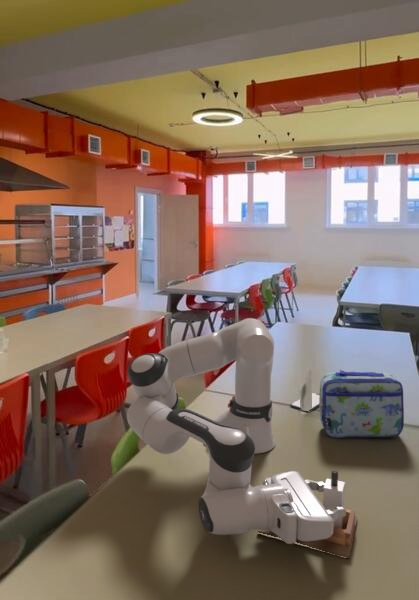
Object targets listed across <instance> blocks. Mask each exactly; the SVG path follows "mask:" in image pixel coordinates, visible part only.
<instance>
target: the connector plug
mask: <svg viewBox="0 0 419 600" xmlns="http://www.w3.org/2000/svg"><path fill="white" fill-rule="evenodd" d="M330 476H331V477H330V478H326V480H325V482H324V483H325V485H324V491H323V493H322V494H323V496H322V504H323V506H324V508H325V509H326V510H331V511H333V510H334V509H335V506H340V505H342V506H343V507H344V508H345V486H346V482H345V481H342V480H339V472H338V470H331V475H330ZM334 527H337V528H341V529H342V528H343V517H338V518H337V519H336V520H335V521H334Z"/></svg>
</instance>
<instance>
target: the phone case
mask: <svg viewBox="0 0 419 600" xmlns="http://www.w3.org/2000/svg"><path fill="white" fill-rule="evenodd" d="M311 393H312V408H311V409H309V411H311V410H312V411H311V412H314V411H315V410H317V409H319V396H320V393H319V394H318V393H315V392H311ZM289 407H290V408H293V409H295V410H299V409H301V407H300V398H298V399H297V400H295V401H293V402H292V403H290V406H289ZM299 411H300V410H299Z"/></svg>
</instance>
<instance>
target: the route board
mask: <svg viewBox="0 0 419 600" xmlns="http://www.w3.org/2000/svg"><path fill="white" fill-rule="evenodd" d="M321 504H322V505H323V502H321ZM345 510H346V515H345V516H344V517H343V528H342V529H341V528H337V527H334V529H333V534H332V536H331V537H329V538H327V539H322V540H315V541H301V540H298V539H297V538H296V542H297V543H300V544H303V545H307V546H309V547H312V548H316V549H319V550H322V551H325V552H329V553H332V554H335V555H339V556H343V557H346V558H349V559H350V557H351V556H350V555H351V552H350V551H352V546H353V543H354V538H353V537H354V536H355V533H356V532H355V531H356V527H357V522H358V516H357V515H356V511H355V510H351V509H347V508H345ZM256 530H257V532H259V533H263V534H267V535H271V536H274V537H279V536H278V535H277V534H275V533H274V532H272V531H271V529H268V530H260V529H256ZM354 532H355V533H354ZM279 538H280V537H279ZM352 542H353V543H352ZM349 556H350V557H349Z"/></svg>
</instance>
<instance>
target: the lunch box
mask: <svg viewBox="0 0 419 600" xmlns="http://www.w3.org/2000/svg"><path fill="white" fill-rule="evenodd" d="M319 383H320V384H319V394H320V396H319V407H318V409H319V419H320V422H321V423H320V424H321V425H322V427H323V431H324V432H325V433H326V435H327V436H328V437H330V438H333V439H340V438H342V439H343V438H395V437H398V436H400V434H401V433H402V431H403V429H404V427H405V425H404V424H405V422H404V421H405V419H404V418H405V416H404V415H405V410H404V409H405V408H404V405H405V404H404V388H403V385H402V383H401V382H400V381H398V379H397V378H396V376H394V375H393V374H391V373H388V372H382V371H381V372H380V371H345V370H342V369H340V370H339V371H332V372H327V373H325V374H324V375H323V376H322V377H321V379H320V382H319Z"/></svg>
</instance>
